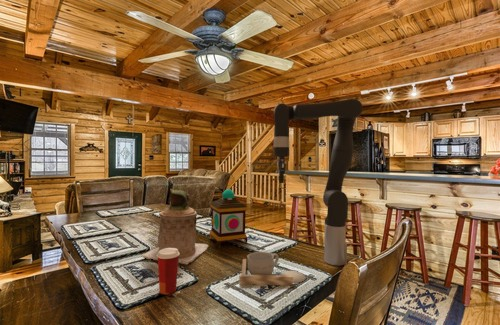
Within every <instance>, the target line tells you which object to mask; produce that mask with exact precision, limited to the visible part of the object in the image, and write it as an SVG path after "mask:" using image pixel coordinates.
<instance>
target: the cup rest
mask: <svg viewBox="0 0 500 325" xmlns="http://www.w3.org/2000/svg"><path fill="white" fill-rule="evenodd" d="M241 264H242V265H241V274H239V275H238V276H239V277H238V278H239V279H238V281H239V282H238V285H252V284H256V285H261V286H262V285H263V286H266V285H268V286H269V285H270V286H271V285H272V286H273V285H274V286H293V284H294V283H293V276H292V275H280V274H270V275H251V274H247V258H243V259H242V263H241Z"/></svg>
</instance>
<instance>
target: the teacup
mask: <svg viewBox="0 0 500 325" xmlns="http://www.w3.org/2000/svg"><path fill="white" fill-rule="evenodd" d="M246 256H247V258H246V259H247V271H248V272H249V275H273V274H272V273H273V272H274V269H275V268H274V267H275V265H276V264H278V262H279V261H280V260H279V258H280V257H279V255H278V254H277V252H276V253H270V252H266V251H256V252H255V251H254V252H251V253H249V254H247V255H246ZM274 257H275V259H274Z"/></svg>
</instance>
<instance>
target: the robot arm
mask: <svg viewBox="0 0 500 325" xmlns="http://www.w3.org/2000/svg"><path fill="white" fill-rule="evenodd" d="M363 109H364V107H363V103H362V102H361V101H360V100H359V99H356V98H349V99H344V100H340V101H333V102H323V103H322V102H318V103H299V104H295V105H291V106H290V105H287V104H285V103H278V104H277V105H276V106H275V107H274V109H273V119H274V120H273V121H274V127H273V128H274V129H273V130H274V131H273V157H276V158H278V159H277V160H276V165H277V175H278V183H279V184H284V183H285V176H284V175H285V174H286V167H287V166H286V165H287V160H286V157H287V158H289V157H290V129H289V128H290V127H289V121H292V120H311V119H319V118H325V117H337V125H336V133H335V135H334V136H335V137H334V140H333V143H332V149H331V154H330V155H331V156H330V163H329V168H328V177H327V181H326V185H325V187H324V188H325V189H324V193H323V196H322V197H323V198H322V200H323V204H324V205H325V207H327V212H326V213H327V214H326V216H325V217H324V235H323V236H324V237H323V238H324V239H323V240H324V242H323V243H324V245H323V247H324V248H323V250H324V251H323V252H324V253H323V261H324V263H326V264H329V265H331V266H343V265H347V264H346V263H348V243H347V242H346V233H347V231H346V229H347V228H346V225H347V220H348V215H349V214H348V213H349V198H348V195H347V194H346V193H345V192H343V191H342V190H343V183H344V180H345V177H346V175H347V173H348V171H349V169H350V167H351V164H352V160H353V154H354V139H353V136H354V135H353V132H354V126H355V123H356V119H357V118H359V116H360V115H361V114H362V113H363Z"/></svg>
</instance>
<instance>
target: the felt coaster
mask: <svg viewBox="0 0 500 325" xmlns="http://www.w3.org/2000/svg"><path fill="white" fill-rule="evenodd" d="M279 275H292V276H293V284H297V283H298V284H299V282H300V283H303V282H304V281H306V275H305V274H303V273H302V272H299V271H296V270H285V271H282V272H281V273H280V274H279ZM302 281H303V282H302Z"/></svg>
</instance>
